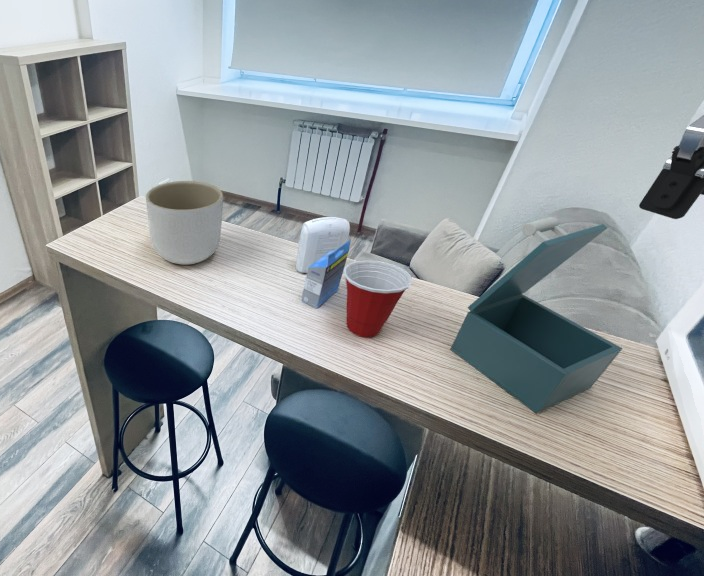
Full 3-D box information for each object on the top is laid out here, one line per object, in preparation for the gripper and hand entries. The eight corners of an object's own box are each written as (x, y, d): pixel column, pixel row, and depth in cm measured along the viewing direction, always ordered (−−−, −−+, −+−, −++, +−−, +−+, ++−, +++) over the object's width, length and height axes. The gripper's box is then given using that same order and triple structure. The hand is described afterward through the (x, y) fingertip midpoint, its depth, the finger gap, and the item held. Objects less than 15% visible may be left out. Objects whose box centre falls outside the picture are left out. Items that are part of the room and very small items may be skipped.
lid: (608, 227, 56) (575, 203, 59) (548, 245, 53) (516, 218, 55) (524, 293, 69) (500, 270, 71) (470, 311, 65) (448, 286, 68)
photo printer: (335, 261, 94) (346, 212, 87) (343, 271, 91) (355, 220, 84) (292, 265, 93) (300, 215, 86) (299, 275, 90) (307, 224, 83)
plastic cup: (368, 304, 81) (383, 252, 74) (406, 339, 72) (428, 283, 65) (320, 315, 78) (331, 262, 71) (354, 352, 70) (370, 296, 63)
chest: (591, 387, 63) (623, 348, 58) (536, 414, 59) (565, 374, 54) (500, 330, 74) (521, 293, 69) (449, 349, 70) (467, 311, 65)
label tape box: (322, 283, 87) (332, 231, 80) (340, 290, 85) (352, 238, 78) (300, 301, 82) (309, 248, 75) (318, 310, 80) (329, 255, 73)
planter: (235, 253, 98) (239, 193, 89) (186, 282, 88) (184, 218, 80) (186, 231, 108) (184, 175, 99) (136, 255, 98) (129, 195, 89)
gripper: (875, -6, 25) (687, 237, 35) (971, -9, 31) (784, 204, 40) (712, -4, 31) (590, 205, 41) (816, -7, 36) (686, 179, 46)
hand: (687, 204), depth 41 cm, fingers open, 9 cm apart
